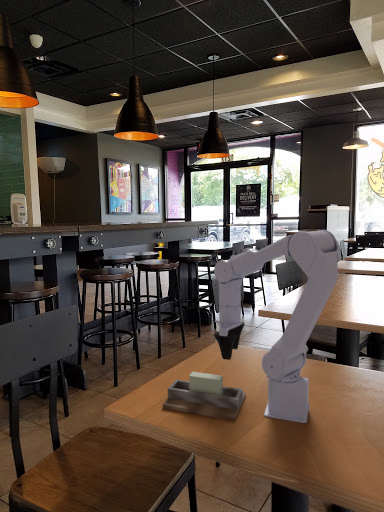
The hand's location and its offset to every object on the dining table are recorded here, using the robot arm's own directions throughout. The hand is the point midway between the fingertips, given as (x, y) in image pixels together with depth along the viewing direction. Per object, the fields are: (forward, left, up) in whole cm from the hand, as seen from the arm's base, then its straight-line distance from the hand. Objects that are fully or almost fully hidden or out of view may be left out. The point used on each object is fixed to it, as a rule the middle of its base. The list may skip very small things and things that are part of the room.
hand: (230, 353), depth 100 cm
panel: (+4, +10, -8) cm, 14 cm away
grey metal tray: (+4, +10, -9) cm, 14 cm away
